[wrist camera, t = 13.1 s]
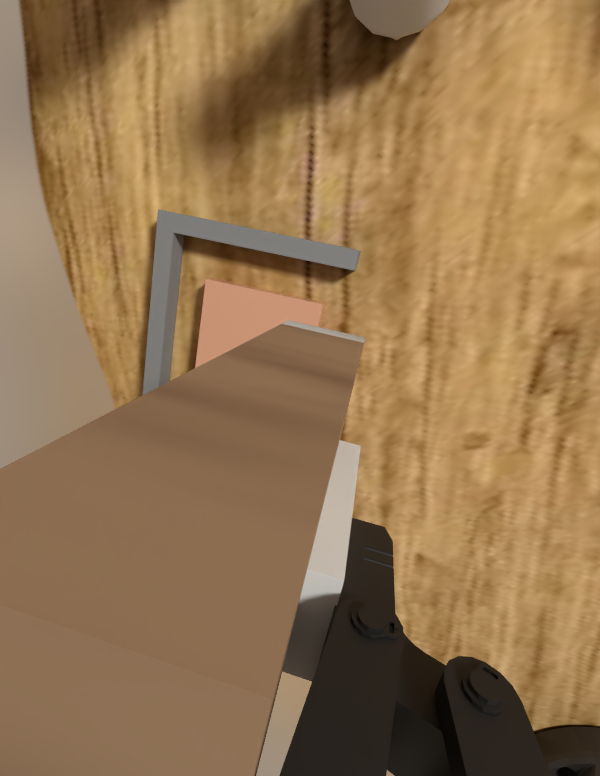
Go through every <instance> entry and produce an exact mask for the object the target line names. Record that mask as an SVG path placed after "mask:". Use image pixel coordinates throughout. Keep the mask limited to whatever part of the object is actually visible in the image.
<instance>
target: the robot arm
mask: <svg viewBox="0 0 600 776" xmlns="http://www.w3.org/2000/svg"><path fill="white" fill-rule="evenodd" d="M360 449H361V446H360V445H356V444H352V443H348V442H344V441H341V440H340V441H339V445H338V449H337V453H336V457H335V461H334V465H333V469H332V473H331V477H330V480H329V484H328V488H327V492H326V496H325V500H324V504H323V508H322V512H321V516H320V520H319V524H318V528H317V532H316V536H315V540H314V544H313V548H312V552H311V556H310V560H309V564H308V568H307V572H306V576H305V580H304V584H303V588H302V592H301V596H300V600H299V604H298V608H297V612H296V616H295V620H294V624H293V628H292V632H291V636H290V640H289V644H288V648H287V652H286V656H285V660H284V664H283V668H282V671H283V672H286V673H289V674H292V675H295V676H298V677H301V678H303V679H306V680H309V681H312V684H311V687H310V690H309V693H308V696H307V698H306V701H305V704H304V707H303V710H302V713H301V716H300V718H299V721H298V724H297V727H296V730H295V733H294V736H293V739H292V741H291V744H290V747H289V750H288V753H287V756H286V759H285V762H284V764H283V767H282V770H281V773H280V776H386V772H387V770H388V771H390V772H391V773H392V774H393V775H395V776H600V728H597V727H564V728H557V729H551V730H547V731H543V732H540V733H537V734H534V731H533V729H532V726H531V724H530V721H529V719H528V717H527V714H526V712H525V709H524V707H523V704H522V702H521V700H520V698H519V696H518V695H517V693H516V691H515V689H514V688H513V686H512V685H511V684H510V683H509V682H508V681H507V680H506V679H505V677H504V676H503V675H502V674H501V673H500V672H498V671H497V670H495V669H494V668H493V667H491V666H490V665H488V664H487V663H485V662H483V661H480V660H478V659H475V658H473V657H463V656H458V657H456V658H454V659H451V660H449V662H448V663H447V665H444V664H442V663H441V662H439V661H437V660H436V659H434V658H432V657H431V656H429V655H428V654H426V653H424V652H423V651H422V650H420V649H419V648H418V647H416V646H415V645H414V644H413V643H412V642H411V641H410V640H409V639H408V638H407V637H406V636H405V634H404V633H403V627H402V625H401V623H400V621H399V619H398V617H397V616H396V614H395V595H394V569H393V541H392V539H391V537H390V536H389V534H388V532H387V531H386V529H385V527H382V526H379V525H375V524H372V523H368V522H365V521H361V520H358V519H354V518H352V514H353V506H354V497H355V489H356V481H357V473H358V465H359V457H360Z"/></svg>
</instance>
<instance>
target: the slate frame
mask: <svg viewBox="0 0 600 776" xmlns="http://www.w3.org/2000/svg"><path fill="white" fill-rule="evenodd" d="M184 235H188V236H192V237H197V238H202V239H207V240H211V241H216V242H221V243H226V244H230V245H235V246H240V247H245V248H249V249H254V250H259V251H264V252H268V253H273V254H278V255H283V256H287V257H292V258H297V259H302V260H306V261H311V262H316V263H321V264H325V265H330V266H335V267H340V268H344V269H349V270H354V271H355V270H356V268H357V264H358V259H359V255H360V251H359V250H354V249H350V248H345V247H340V246H335V245H330V244H325V243H320V242H315V241H310V240H305V239H301V238H296V237H291V236H286V235H281V234H276V233H271V232H266V231H261V230H256V229H252V228H247V227H242V226H237V225H232V224H227V223H222V222H217V221H212V220H207V219H203V218H198V217H193V216H188V215H183V214H178V213H173V212H168V211H163V210H159V209H158V216H157V228H156V240H155V252H154V264H153V276H152V288H151V300H150V312H149V324H148V336H147V348H146V360H145V372H144V384H143V395H144V394H146V393H148V392H150V391H152V390H154V389H156V388H158V387H160V386H162V385H164V384H166V383H168V382H169V379H170V369H171V360H172V350H173V340H174V331H175V321H176V311H177V302H178V292H179V282H180V273H181V263H182V253H183V244H184Z"/></svg>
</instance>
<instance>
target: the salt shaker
mask: <svg viewBox="0 0 600 776" xmlns="http://www.w3.org/2000/svg"><path fill="white" fill-rule="evenodd" d="M448 2H449V0H350V3H351V6H352V9H353V12H354V15H355V17H356V18H357V19H358V20H359V21H360V22H361V23H362V24H363V25H364V26H365V27H366V28H368V29H369V30H370V31H371V32H372V33H373V34H377V35H381V36H385V37H390V38H392V39H394V40H396V41H397V40H399V39H400V38H402V37H404V36H408V35H411V34H414V33H417V32H420V31H422V30H423V29H424V28H425V27H427V26H428V25H429V24H430V23H431V22H432V21H433V20H435V19H436V18H437V17H438V16H439V15H440V14H441V13H443V12H444V10H445V8H446V6H447V4H448Z"/></svg>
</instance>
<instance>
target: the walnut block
mask: <svg viewBox="0 0 600 776" xmlns="http://www.w3.org/2000/svg"><path fill="white" fill-rule="evenodd" d="M364 341H365V337H360V336H356V335H352V334H347V333H343V332H339V331H334V330H330V329H325V328H321V327H317V326H312V325H308V324H304V323H299V322H295V321H290V320H288V321H286V322H284V323H282V324H280V325H278V326H276V327H274V328H272V329H270V330H268V331H266V332H264V333H263V334H261V335H259V336H257V337H255V338H253V339H251V340H249V341H247V342H245V343H243V344H241V345H239V346H237V347H235V348H234V349H232V350H230V351H228V352H226V353H224V354H222V355H220V356H218V357H216V358H214V359H212V360H210V361H208V362H206V363H204V364H203V365H201V366H199V367H197V368H195V369H193V370H191V371H189V372H187V373H185V374H183V375H181V376H179V377H177V378H175V379H173V380H172V381H170V382H168V383H166V384H164V385H162V386H160V387H158V388H156V389H154V390H152V391H150V392H148V393H146V394H144V395H143V396H141V397H139V398H137V399H135V400H133V401H131V402H129V403H127V404H125V405H123V406H121V407H119V408H117V409H115V410H113V411H112V412H110V413H108V414H106V415H104V416H102V417H100V418H98V419H96V420H94V421H92V422H90V423H88V424H86V425H85V426H82V427H81V428H79V429H77V430H75V431H73V432H71V433H69V434H67V435H65V436H63V437H61V438H60V439H57V440H55V441H53V442H52V443H50V444H48V445H46V446H44V447H42V448H40V449H38V450H36V451H34V452H32V453H30V454H28V455H26V456H24V457H22V458H21V459H19V460H17V461H15V462H13V463H11V464H9V465H7V466H5V467H3V468H1V469H0V776H256V773H257V769H258V765H259V761H260V757H261V753H262V749H263V745H264V741H265V737H266V733H267V729H268V725H269V721H270V717H271V713H272V709H273V705H274V701H275V697H276V694H277V690H278V686H279V682H280V678H281V673H282V668H283V664H284V660H285V656H286V652H287V648H288V644H289V640H290V636H291V632H292V628H293V624H294V620H295V616H296V612H297V608H298V604H299V600H300V596H301V592H302V588H303V584H304V580H305V576H306V572H307V568H308V564H309V560H310V556H311V552H312V548H313V544H314V540H315V536H316V532H317V528H318V524H319V520H320V516H321V512H322V508H323V504H324V500H325V496H326V492H327V488H328V484H329V480H330V477H331V473H332V469H333V465H334V461H335V457H336V453H337V449H338V445H339V441H340V437H341V433H342V429H343V425H344V421H345V417H346V413H347V409H348V405H349V401H350V397H351V393H352V389H353V385H354V381H355V377H356V373H357V369H358V365H359V361H360V357H361V353H362V349H363V345H364Z"/></svg>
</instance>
